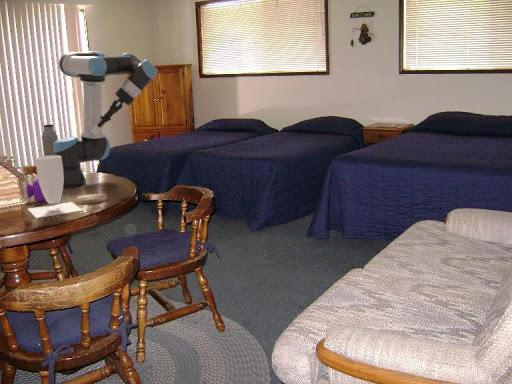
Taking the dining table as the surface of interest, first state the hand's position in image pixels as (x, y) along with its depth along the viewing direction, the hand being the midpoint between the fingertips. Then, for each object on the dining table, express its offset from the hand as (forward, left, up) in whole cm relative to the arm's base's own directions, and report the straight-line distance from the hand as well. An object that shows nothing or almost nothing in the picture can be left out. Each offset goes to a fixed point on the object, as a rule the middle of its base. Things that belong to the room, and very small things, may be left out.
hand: (94, 131), depth 231 cm
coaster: (-6, -3, -30) cm, 31 cm away
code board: (+1, -20, -30) cm, 36 cm away
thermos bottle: (-78, -3, -31) cm, 84 cm away
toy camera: (-21, -20, -31) cm, 42 cm away
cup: (+1, -20, -30) cm, 36 cm away
